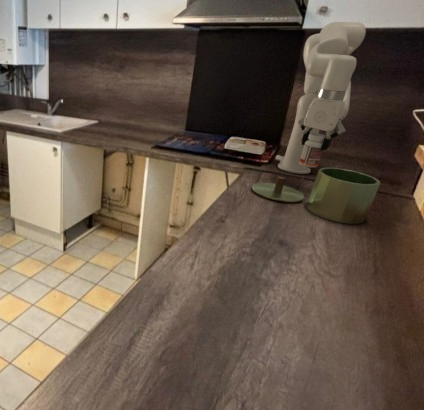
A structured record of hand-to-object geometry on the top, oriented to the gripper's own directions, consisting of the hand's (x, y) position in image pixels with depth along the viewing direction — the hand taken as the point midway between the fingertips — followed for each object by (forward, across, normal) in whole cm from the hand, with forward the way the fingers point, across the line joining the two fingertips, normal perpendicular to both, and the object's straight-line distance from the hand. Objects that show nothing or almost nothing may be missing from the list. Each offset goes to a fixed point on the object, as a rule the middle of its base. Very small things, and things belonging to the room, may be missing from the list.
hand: (314, 146), depth 128 cm
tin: (+15, +18, -14) cm, 28 cm away
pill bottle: (+7, 0, 0) cm, 7 cm away
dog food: (+17, -44, +27) cm, 54 cm away
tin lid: (+15, 0, -17) cm, 22 cm away
